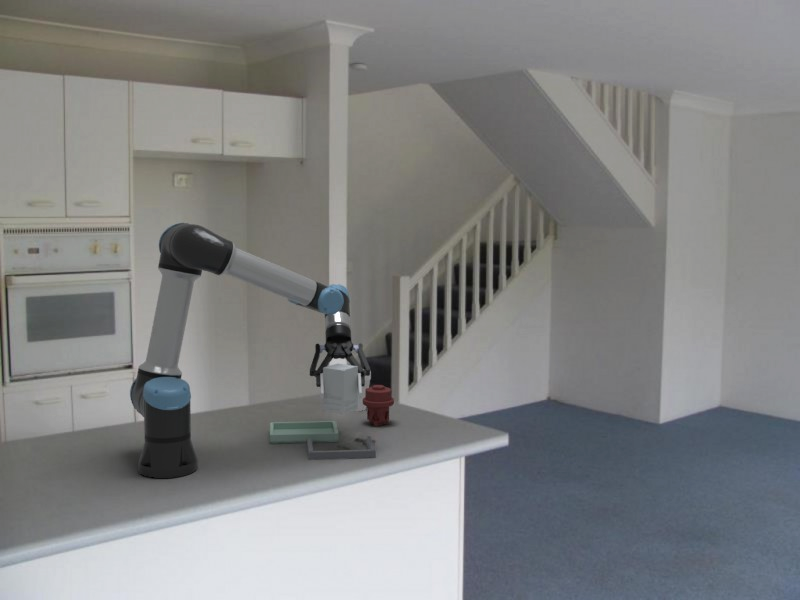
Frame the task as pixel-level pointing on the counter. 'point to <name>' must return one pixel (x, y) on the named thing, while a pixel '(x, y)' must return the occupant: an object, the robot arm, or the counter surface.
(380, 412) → the mechanical component
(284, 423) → the tray
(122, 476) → the counter surface
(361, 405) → the foam cup
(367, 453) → the dock
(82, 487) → the counter surface
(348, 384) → the supplement box
